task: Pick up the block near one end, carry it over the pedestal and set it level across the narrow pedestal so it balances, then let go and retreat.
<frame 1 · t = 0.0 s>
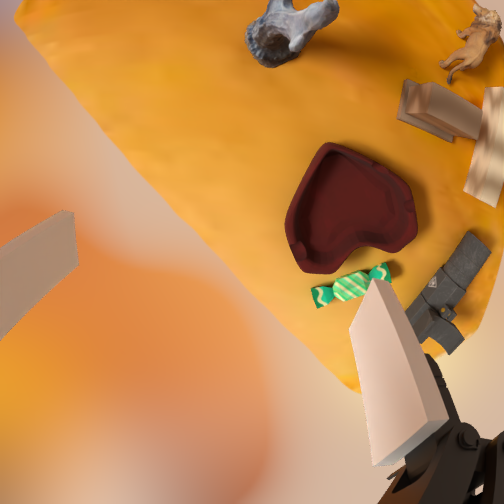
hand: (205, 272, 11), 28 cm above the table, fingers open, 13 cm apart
laser sight: (433, 285, 41), on the table
ashtray: (342, 197, 37), on the table
block: (484, 142, 29), on the table
pedestal: (427, 111, 29), on the table
candy: (349, 279, 42), on the table
lion figurine: (457, 46, 24), on the table
antler: (283, 50, 29), on the table
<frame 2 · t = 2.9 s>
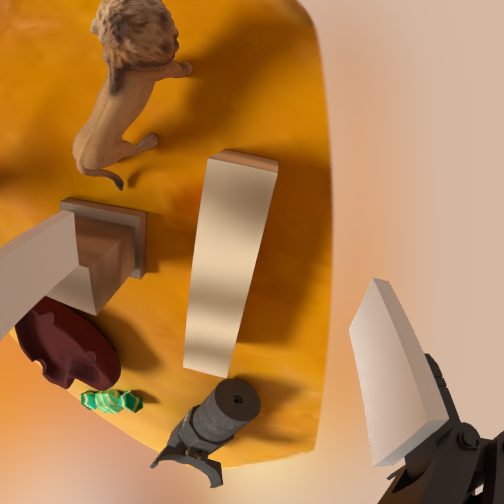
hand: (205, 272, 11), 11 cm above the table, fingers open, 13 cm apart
laser sight: (208, 413, 36), on the table
ashtray: (64, 324, 31), on the table
block: (229, 261, 24), on the table
pedestal: (104, 234, 24), on the table
candy: (113, 392, 37), on the table
lion figurine: (148, 97, 18), on the table
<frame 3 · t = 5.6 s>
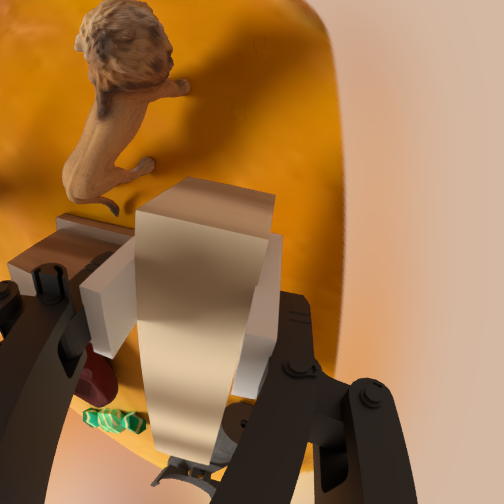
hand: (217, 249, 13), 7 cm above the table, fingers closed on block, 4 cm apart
laser sight: (211, 433, 33), on the table
ashtray: (61, 337, 30), on the table
block: (206, 334, 16), point 6 cm above the table, touching gripper
pedestal: (101, 253, 22), on the table
candy: (116, 411, 36), on the table
lion figurine: (144, 117, 18), on the table
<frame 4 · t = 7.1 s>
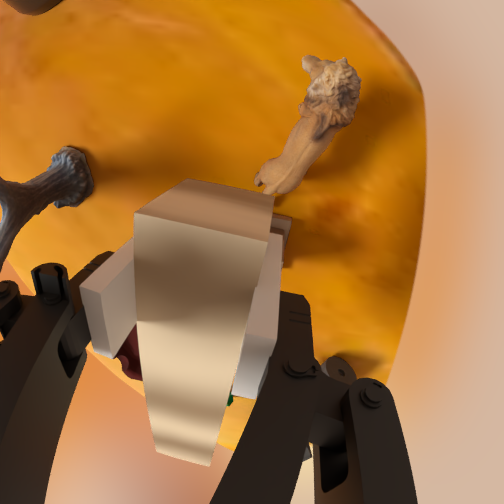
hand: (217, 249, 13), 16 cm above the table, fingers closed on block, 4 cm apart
laser sight: (294, 394, 42), on the table
ashtray: (158, 317, 37), on the table
block: (206, 336, 16), point 15 cm above the table, touching gripper
pedestal: (243, 234, 30), on the table
lion figurine: (298, 133, 25), on the table
antler: (81, 186, 30), on the table
when the fingers open (7 cm above the table, at t = 8.9 s): block stays where it is, resting on pedestal.
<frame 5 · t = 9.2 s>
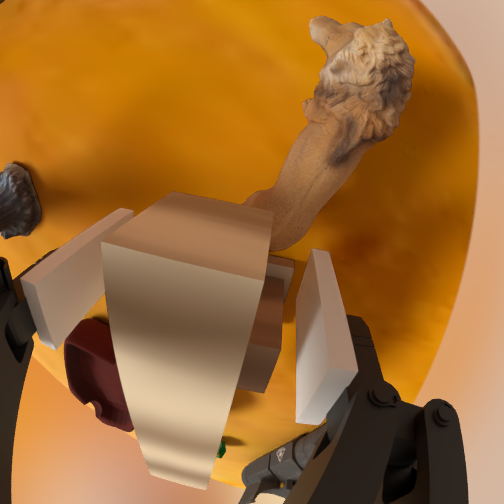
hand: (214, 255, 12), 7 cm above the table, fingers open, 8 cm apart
laser sight: (295, 443, 33), on the table
ashtray: (130, 363, 29), on the table
block: (199, 361, 15), point 8 cm above the table, touching pedestal
pedestal: (226, 281, 22), on the table
lion figurine: (302, 146, 17), on the table
antler: (30, 211, 21), on the table
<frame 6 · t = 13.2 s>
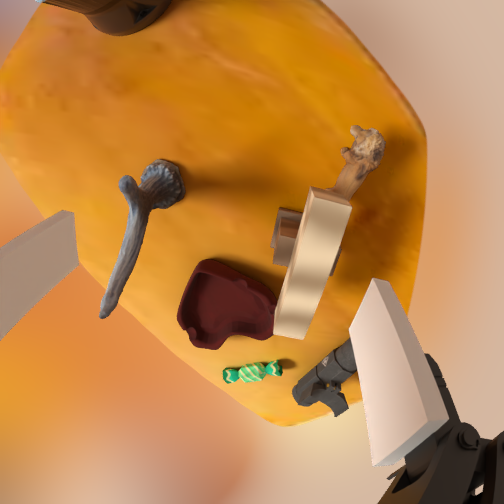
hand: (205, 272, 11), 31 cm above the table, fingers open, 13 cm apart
laser sight: (332, 359, 54), on the table
ashtray: (225, 293, 50), on the table
block: (306, 258, 35), point 8 cm above the table, touching pedestal
pedestal: (303, 232, 42), on the table
candy: (253, 365, 57), on the table
lion figurine: (340, 168, 38), on the table
antler: (172, 192, 42), on the table
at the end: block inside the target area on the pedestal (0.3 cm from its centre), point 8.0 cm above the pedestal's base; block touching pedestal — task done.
